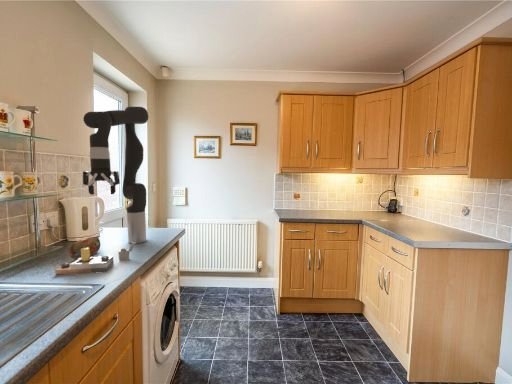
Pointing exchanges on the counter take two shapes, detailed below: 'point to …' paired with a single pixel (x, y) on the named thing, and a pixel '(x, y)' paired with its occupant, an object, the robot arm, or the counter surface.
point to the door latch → (87, 266)
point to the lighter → (125, 252)
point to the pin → (85, 255)
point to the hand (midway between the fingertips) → (102, 194)
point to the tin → (85, 243)
